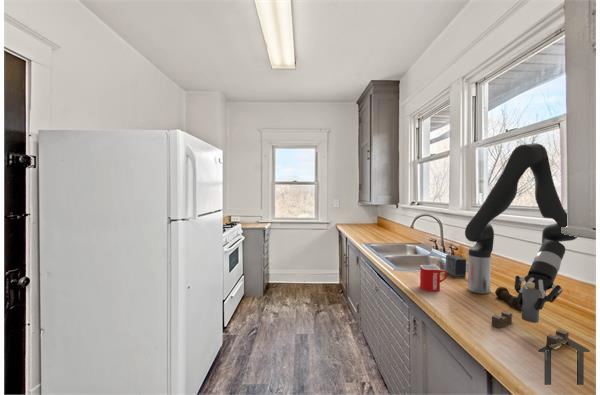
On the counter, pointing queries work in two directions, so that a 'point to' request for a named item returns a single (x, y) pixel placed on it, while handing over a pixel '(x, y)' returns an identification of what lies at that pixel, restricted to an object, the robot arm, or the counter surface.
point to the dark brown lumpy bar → (507, 297)
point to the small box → (456, 266)
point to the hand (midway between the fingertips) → (528, 306)
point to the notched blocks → (506, 319)
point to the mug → (431, 277)
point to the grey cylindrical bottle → (530, 303)
